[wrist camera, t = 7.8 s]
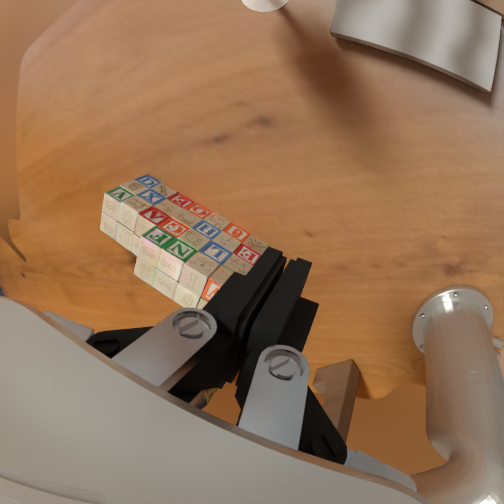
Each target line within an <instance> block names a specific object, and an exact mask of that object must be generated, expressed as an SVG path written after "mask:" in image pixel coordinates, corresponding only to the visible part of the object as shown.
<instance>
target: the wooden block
mask: <svg viewBox="0 0 504 504" xmlns="http://www.w3.org/2000/svg"><path fill="white" fill-rule="evenodd" d="M359 375H360V371H359V369H358V367H357V366H356V364H355V363H354V361H353V360H352V359H350V360H347V361H344V362H341V363H337V364H334V365H330V366H327V367H323V368H319V369H317V372H316V375H315V378H314V381H313V386H314V387H315V389H316V390H317V391H318V392H319V394H320V395H321V396H326V399H325V402H324V406H323V409H324V411H325V412H326V414H327V415H328V417H329V419H330V420H331V422H332V423H333V425H334V426H335V428H336V429H337V431H338V432H339V434H340V435H341V437H342V438H343V440H344V442H345V444H346V440H347V435H348V431H349V426H350V421H351V417H352V412H353V407H354V402H355V397H356V392H357V386H358V381H359Z"/></svg>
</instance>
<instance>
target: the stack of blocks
mask: <svg viewBox="0 0 504 504" xmlns="http://www.w3.org/2000/svg"><path fill="white" fill-rule="evenodd" d="M100 230H101V231H103V232H104V233H106V234H107V235H109V236H110V237H112V238H113V239H115V241H117V242H118V243H119V244H121V245H122V246H124V247H125V248H127V249H128V250H130V251H131V252H132V253H134V254H135V255H137V260H136V265H135V270H134V274H135V275H136V276H138V277H139V278H140V279H142V280H143V281H145V282H146V283H148V284H149V285H151V286H153V287H154V288H156V289H157V290H158V291H160V292H161V293H163V294H165V295H166V296H167V297H169V298H171V299H173V301H175V302H176V303H178V304H180V305H181V306H183V307H184V308H186V307H193V308H198V309H203V307H204V306H205V305H206V304H207V303H208V301H209V300H210V299H211V298H212V297H213V296H214V294H215V293H216V292H217V291H218V290H219V289H220V287H221V286H222V285H223V284H224V283H225V282H226V280H227V279H228V278H229V277H230V276H231V275H232V274H233V273H234V272H238V273H241V274H243V275H246V274H247V273H248V272H249V270H250V269H251V268H252V267H253V265H254V264H255V263H256V261H257V260H258V259H259V258H260V256H261V255H262V254H263V252H264V251H265V250H266V248H267V247H269V245H267V244H266V243H264V242H262V241H261V240H259V239H257V238H256V237H254V236H252V235H251V234H250V233H248V232H247V231H245V230H243V229H242V228H240V227H238V226H237V225H235V224H233V223H231V222H230V221H228V220H227V219H225V218H223V217H222V216H220V215H218V214H216V213H215V212H211V211H210V210H208V209H206V208H205V207H203V206H201V205H199V204H198V203H195V202H194V201H192V200H190V199H188V198H187V197H185V196H183V195H181V194H180V193H178V192H177V191H176V190H174V189H172V188H170V187H169V186H167V185H165V184H163V183H161V182H160V181H158V180H156V179H155V178H153V177H151V176H149V175H144V176H142V177H139V178H136V179H134V180H131V181H129V182H126V183H124V184H122V185H120V186H119V187H116V188H114V189H112V190H109V191H107V192H105V195H104V201H103V208H102V217H101V225H100Z"/></svg>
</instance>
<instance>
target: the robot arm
mask: <svg viewBox="0 0 504 504" xmlns="http://www.w3.org/2000/svg"><path fill="white" fill-rule="evenodd" d="M282 254H283V252H282V251H279V250H276V249H274V248H271V247H267V248H266V250H265V251H264V252H263V254H262V255H261V256H260V258H259V259H258V260H257V261H256V263H255V264H254V265H253V267H252V268H251V269H250V270H249V272H248V273H247V274H246V275H243V274H241V273H238V272H234V273H233V274H232V275H231V276H230V277H229V278H228V279H227V280H226V282H225V283H224V284H223V285H222V286H221V287H220V289H219V290H218V291H217V292H216V293H215V294H214V296H213V297H212V298H211V299H210V300H209V301H208V303H207V304H206V305H205V306H204V307H203V309H198V308H193V307H186V308H181V309H178V310H176V311H174V312H173V313H171V314H170V315H169V316H167V317H166V318H165V319H163V320H162V321H161V322H159V323H158V324H157V325H155V326H152V327H142V328H132V329H122V330H110V331H103V332H98V333H94V329H92V328H89V327H87V326H84V325H82V324H79V323H76V322H74V321H71V320H69V319H66V318H64V317H62V316H59V315H57V314H54V313H52V312H48V311H42V312H41V311H39V310H37V309H36V308H34V307H32V306H30V305H28V304H26V303H23V302H21V301H19V300H15V299H12V298H8V297H3V296H0V504H504V381H503V377H502V373H501V369H500V365H499V360H500V357H501V355H500V353H499V352H497V351H495V348H498V349H501V348H502V347H503V345H504V340H502V339H500V338H496V337H494V334H493V331H492V326H493V321H494V313H493V309H492V305H491V303H490V301H489V299H488V298H487V297H486V295H485V294H484V293H482V292H481V291H480V290H478V289H476V288H473V287H470V286H452V287H448V288H445V289H442V290H440V291H438V292H436V293H434V294H433V295H431V296H430V297H429V298H428V299H426V300H425V301H424V302H423V304H422V305H421V306H420V307H419V309H418V310H417V312H416V314H415V316H414V319H413V323H412V336H413V340H414V343H415V345H416V347H417V348H418V350H420V351H421V352H422V353H423V354H424V356H425V375H426V432H427V437H428V440H429V442H430V444H431V445H432V447H433V448H434V449H435V450H436V451H437V452H438V453H439V454H440V455H441V456H442V457H444V458H445V459H446V460H448V462H447V463H446V464H444V465H442V466H439V467H436V468H433V469H430V470H427V471H424V472H420V473H416V474H412V475H407V474H405V473H402V472H400V471H398V470H396V469H394V468H392V467H390V466H388V465H386V464H384V463H382V462H380V461H378V460H376V459H374V458H372V457H370V456H368V455H366V454H364V453H362V452H360V451H358V450H357V451H355V452H353V451H351V450H349V449H347V446H346V444H345V442H344V440H343V438H342V437H341V435H340V434H339V432H338V431H337V429H336V428H335V426H334V425H333V423H332V422H331V420H330V419H329V417H328V415H327V414H326V412H325V411H324V409H323V408H322V406H321V405H320V403H319V402H318V400H317V399H316V397H315V395H314V394H313V392H312V391H311V389H310V388H309V386H308V380H309V373H310V367H309V363H308V361H307V358H306V357H305V356H304V355H303V354H302V351H303V348H304V345H305V343H306V340H307V337H308V334H309V332H310V329H311V326H312V323H313V320H314V317H315V315H316V312H317V309H318V306H319V304H318V303H315V302H313V301H310V300H308V299H305V298H302V297H300V296H301V293H302V290H303V288H304V285H305V282H306V279H307V276H308V274H309V271H310V268H311V265H312V262H309V261H306V260H304V259H301V258H297V260H296V261H295V260H292V259H291V260H290V261H289V263H288V265H287V267H286V268H285V270H284V266H285V263H286V259H287V257H284V256H282ZM283 270H284V272H283ZM239 370H240V371H239ZM238 371H239V374H238V378H237V381H236V386H238V387H237V390H236V394H235V397H236V400H237V402H238V404H239V406H240V408H241V411H240V414H239V417H238V420H237V424H236V426H235V425H233V424H230V423H228V422H226V421H224V420H221V419H219V418H217V417H215V416H213V415H211V414H209V413H207V412H205V411H202V410H200V409H198V408H196V407H194V406H195V405H196V403H197V402H198V401H199V400H200V399H201V398H202V397H203V396H204V394H205V393H206V390H208V389H213V388H217V387H218V388H220V389H222V387H223V385H224V384H225V382H229V383H232V381H233V380H234V378H235V376H236V375H237V373H238Z"/></svg>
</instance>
